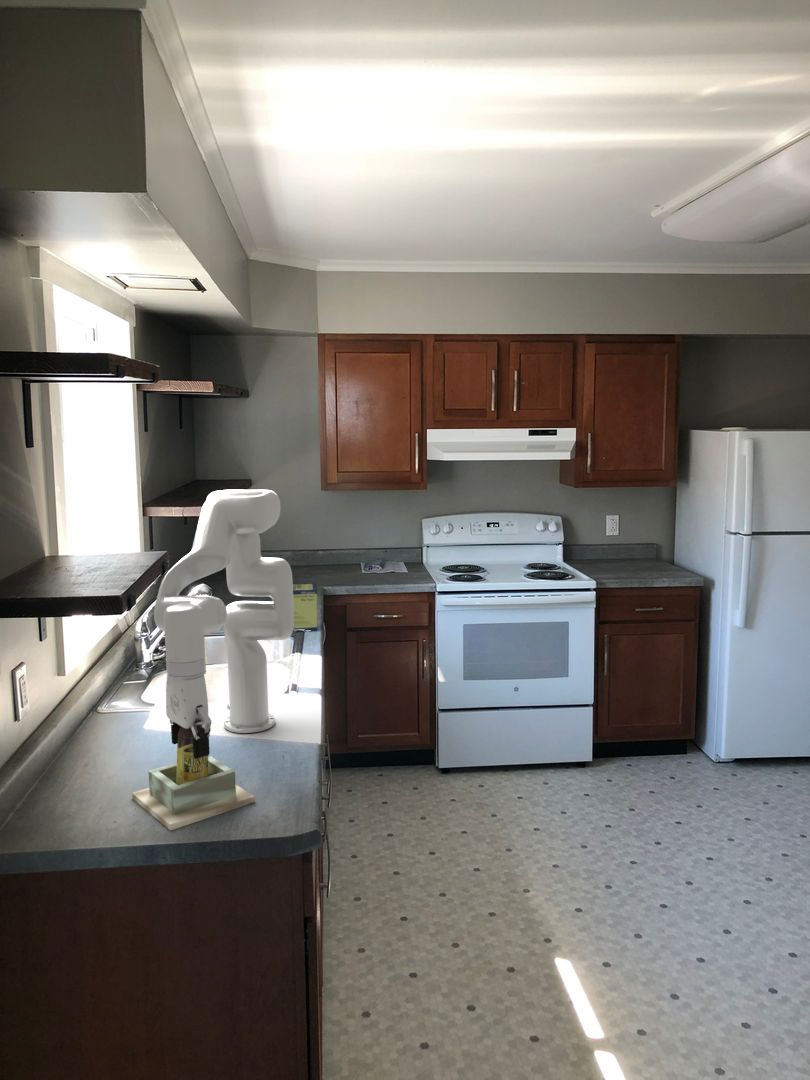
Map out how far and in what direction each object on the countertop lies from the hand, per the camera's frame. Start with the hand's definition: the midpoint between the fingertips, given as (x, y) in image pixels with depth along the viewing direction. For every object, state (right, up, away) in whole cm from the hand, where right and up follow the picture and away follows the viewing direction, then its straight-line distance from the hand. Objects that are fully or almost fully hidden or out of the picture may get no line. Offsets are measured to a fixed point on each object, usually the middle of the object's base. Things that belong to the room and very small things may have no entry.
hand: (190, 749), depth 171 cm
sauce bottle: (0, -10, +2) cm, 10 cm away
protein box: (+3, +9, +140) cm, 140 cm away
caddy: (0, -11, +2) cm, 11 cm away
